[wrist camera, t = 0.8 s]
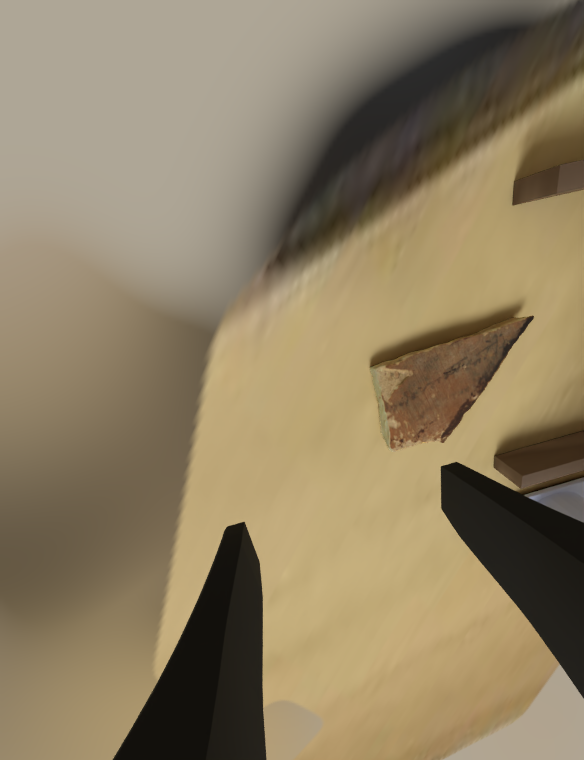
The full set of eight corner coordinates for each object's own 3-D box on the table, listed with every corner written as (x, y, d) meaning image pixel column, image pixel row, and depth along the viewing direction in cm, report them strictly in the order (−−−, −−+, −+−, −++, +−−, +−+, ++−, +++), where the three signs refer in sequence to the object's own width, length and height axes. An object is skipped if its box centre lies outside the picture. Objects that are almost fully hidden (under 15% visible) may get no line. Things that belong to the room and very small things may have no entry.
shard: (514, 312, 19) (539, 316, 18) (511, 408, 22) (533, 418, 20) (364, 359, 19) (376, 367, 17) (381, 450, 22) (392, 464, 20)
